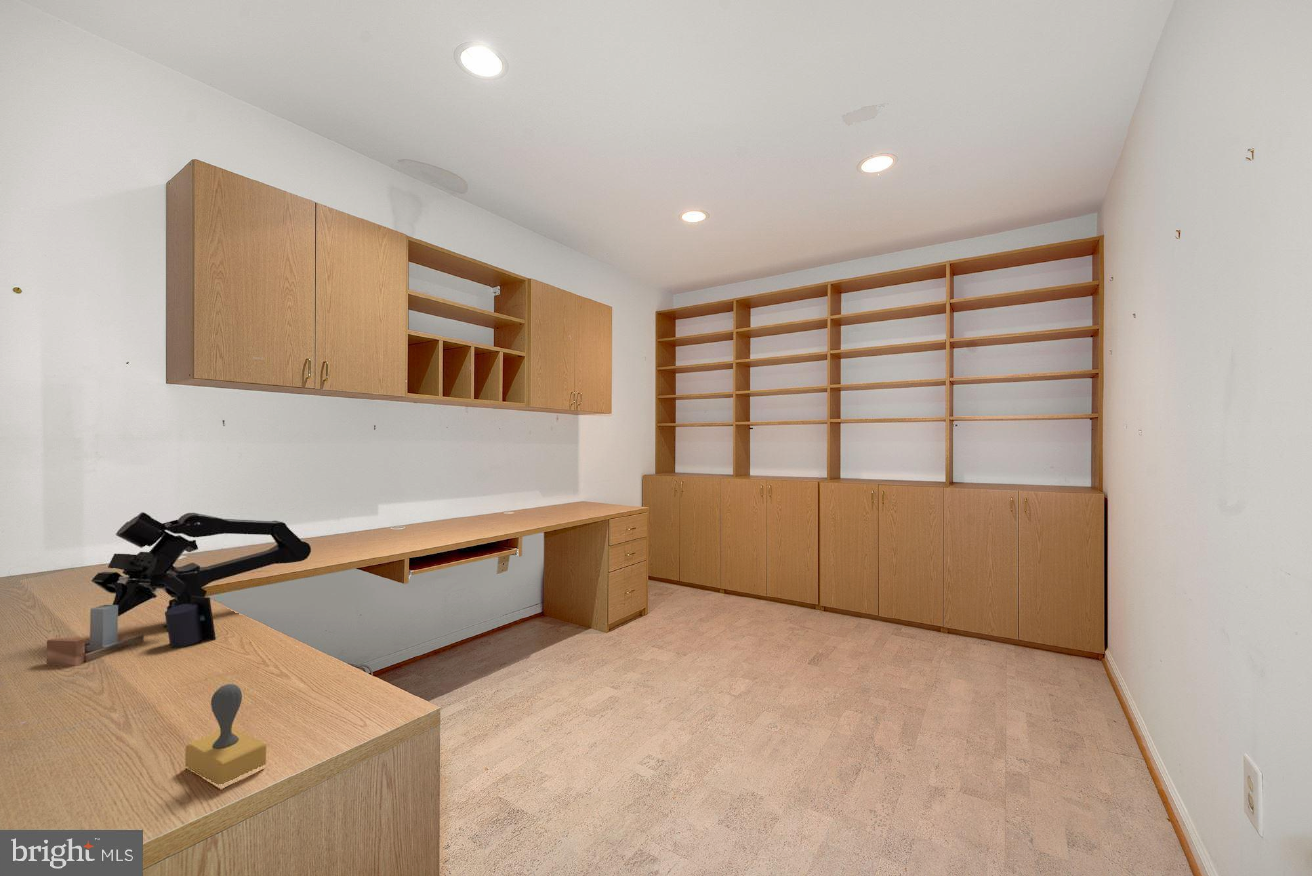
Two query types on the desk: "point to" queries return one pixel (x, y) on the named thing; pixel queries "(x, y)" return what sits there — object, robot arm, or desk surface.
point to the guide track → (81, 650)
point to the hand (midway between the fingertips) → (111, 617)
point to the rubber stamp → (225, 743)
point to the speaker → (190, 622)
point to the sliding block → (103, 627)
